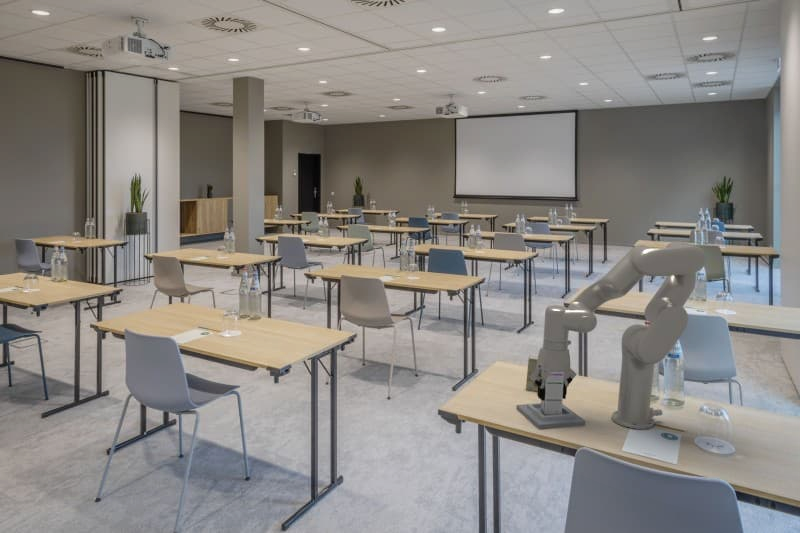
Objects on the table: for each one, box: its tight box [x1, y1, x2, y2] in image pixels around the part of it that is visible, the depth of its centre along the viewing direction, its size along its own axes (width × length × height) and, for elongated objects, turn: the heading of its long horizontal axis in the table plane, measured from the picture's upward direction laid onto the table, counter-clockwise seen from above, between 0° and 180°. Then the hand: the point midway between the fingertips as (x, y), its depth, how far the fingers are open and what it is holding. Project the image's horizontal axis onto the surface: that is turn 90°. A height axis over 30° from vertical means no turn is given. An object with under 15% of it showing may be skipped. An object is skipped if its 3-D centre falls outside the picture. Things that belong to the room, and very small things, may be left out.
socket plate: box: [515, 402, 587, 430], centre depth 189 cm, size 16×16×3 cm
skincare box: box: [525, 354, 540, 392], centre depth 213 cm, size 6×4×12 cm
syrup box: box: [540, 371, 564, 415], centre depth 188 cm, size 6×6×14 cm
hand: (551, 397), depth 188 cm, fingers closed on syrup box, 6 cm apart
